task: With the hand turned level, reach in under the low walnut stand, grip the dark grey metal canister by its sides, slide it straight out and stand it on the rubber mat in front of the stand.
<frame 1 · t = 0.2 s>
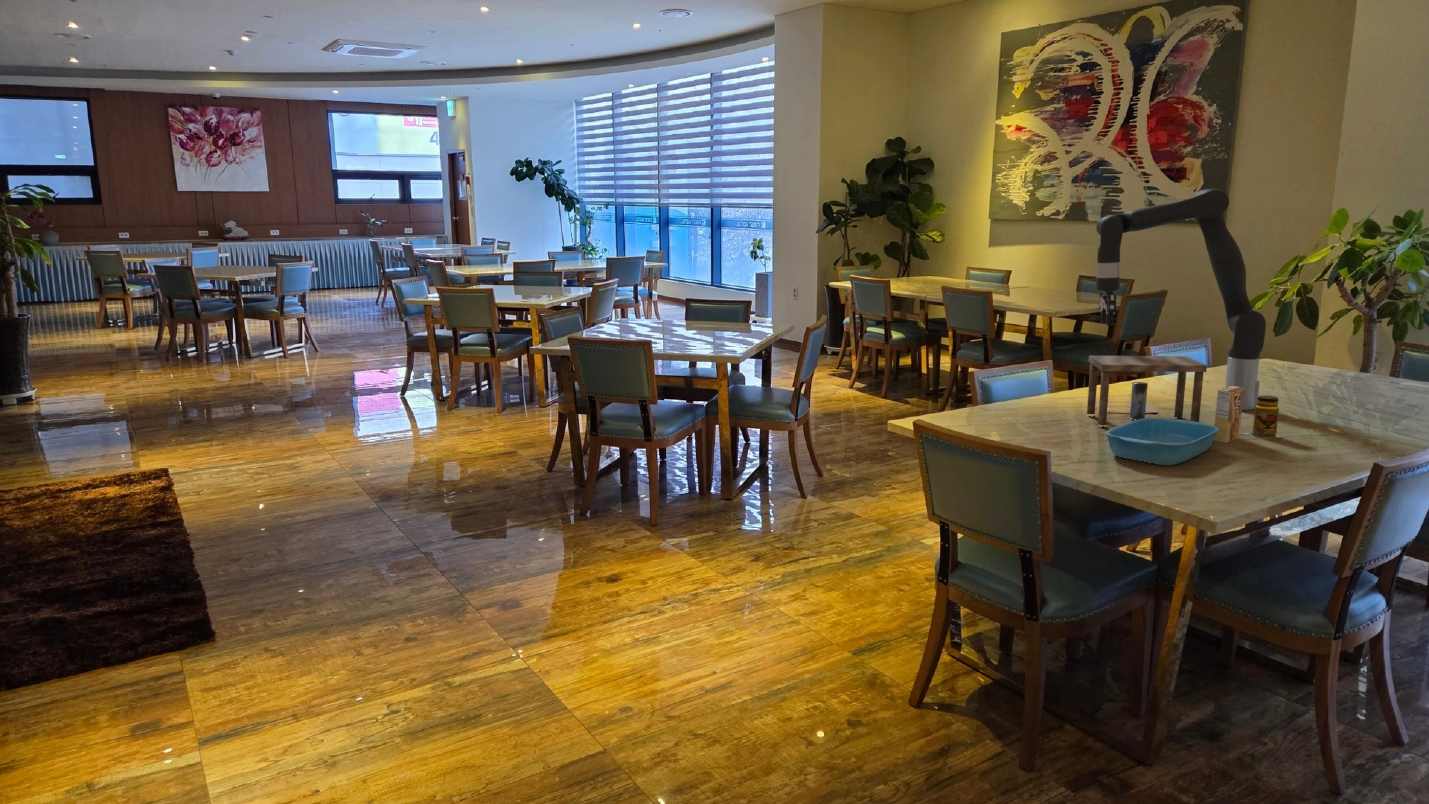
hand: (1107, 324, 311), 28 cm above the table, tool pointing down, fingers open, 8 cm apart
metal canister: (1137, 419, 296), on the table
low stand: (1140, 422, 292), on the table
candy box: (1226, 440, 269), on the table
rubber mat: (1123, 408, 313), on the table
casserole dish: (1160, 454, 257), on the table
condiment: (1261, 436, 273), on the table
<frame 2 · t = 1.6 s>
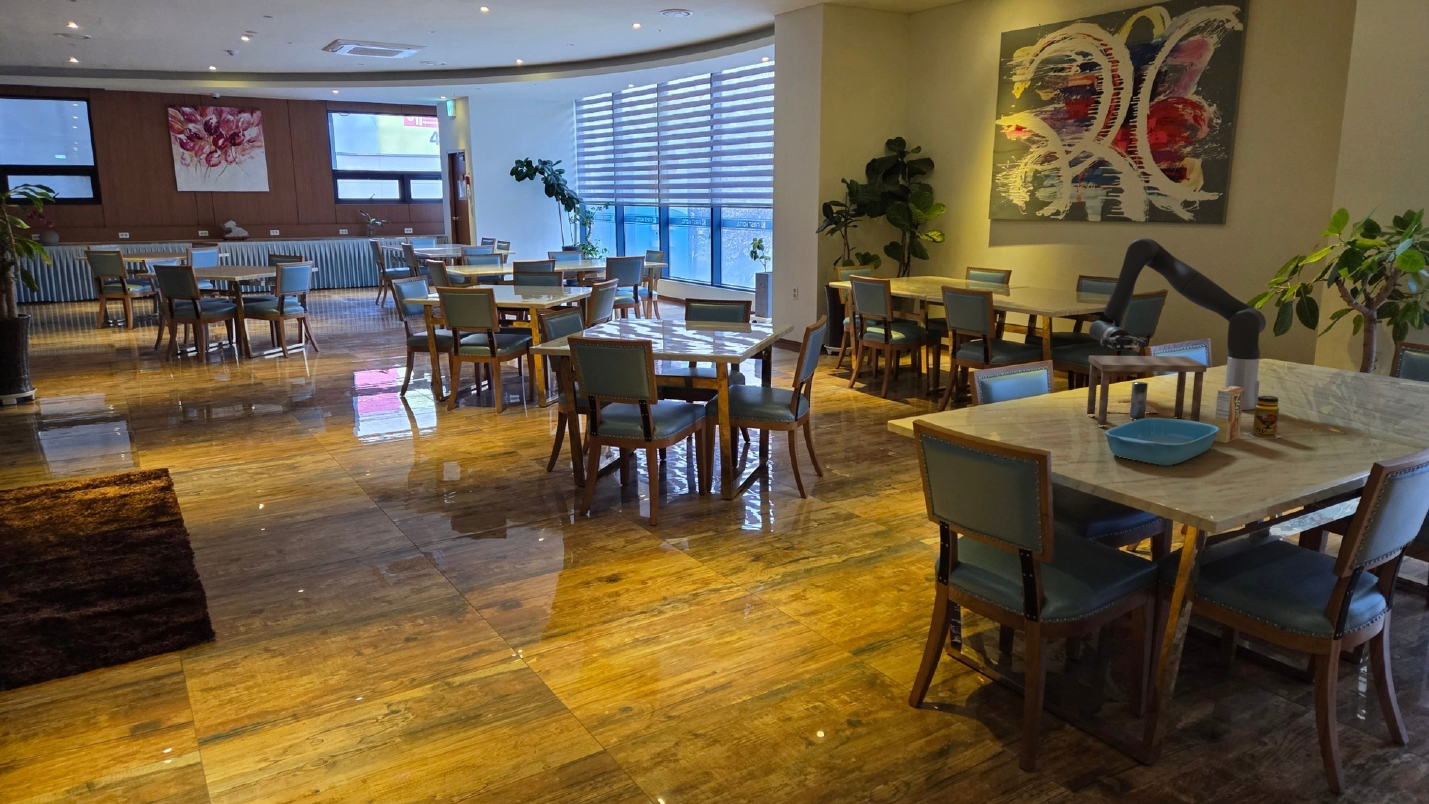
hand: (1129, 345, 306), 22 cm above the table, tool horizontal, fingers open, 8 cm apart
nothing on the table moved.
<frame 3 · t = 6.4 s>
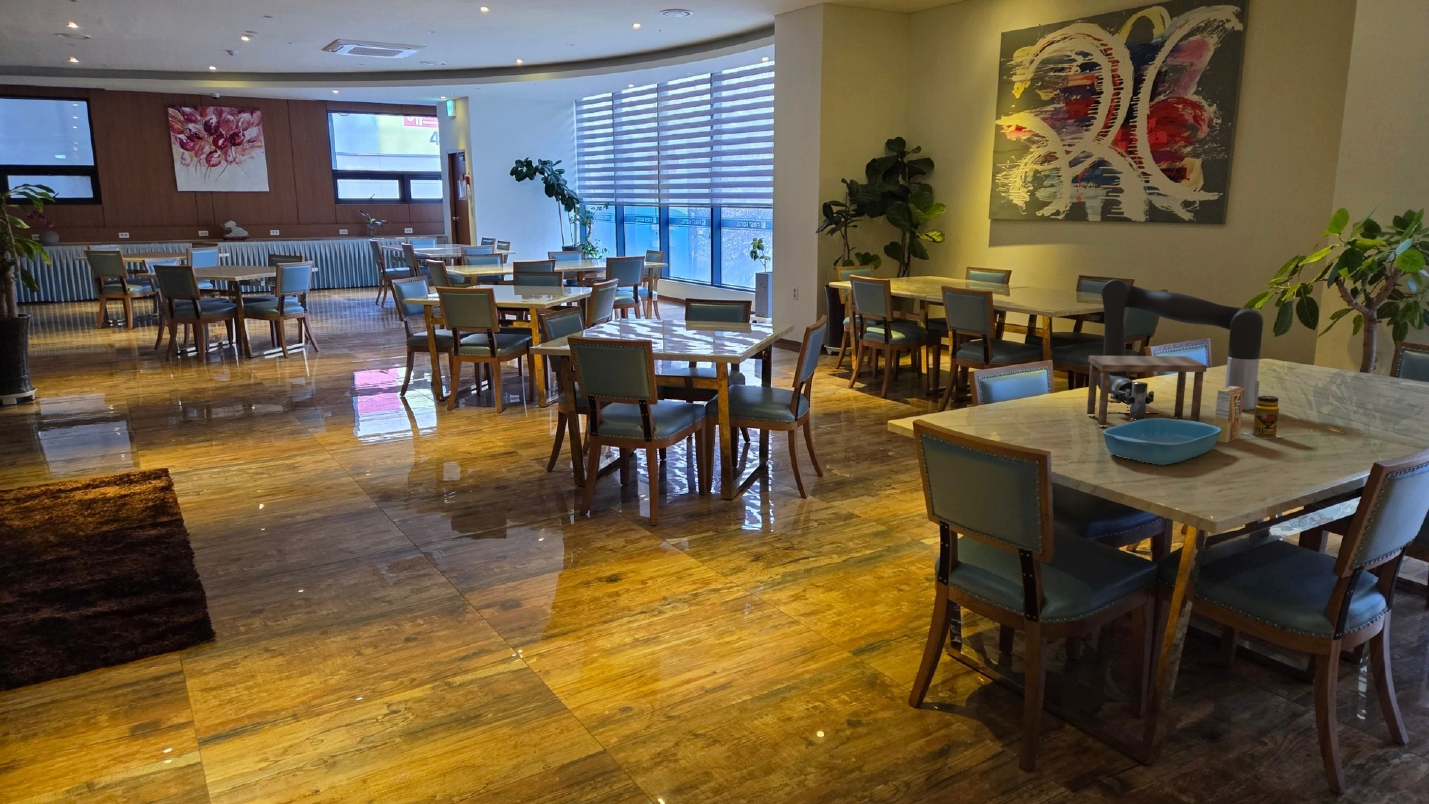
hand: (1140, 400, 293), 7 cm above the table, tool horizontal, fingers closed on metal canister, 4 cm apart
metal canister: (1137, 419, 296), on the table, touching gripper
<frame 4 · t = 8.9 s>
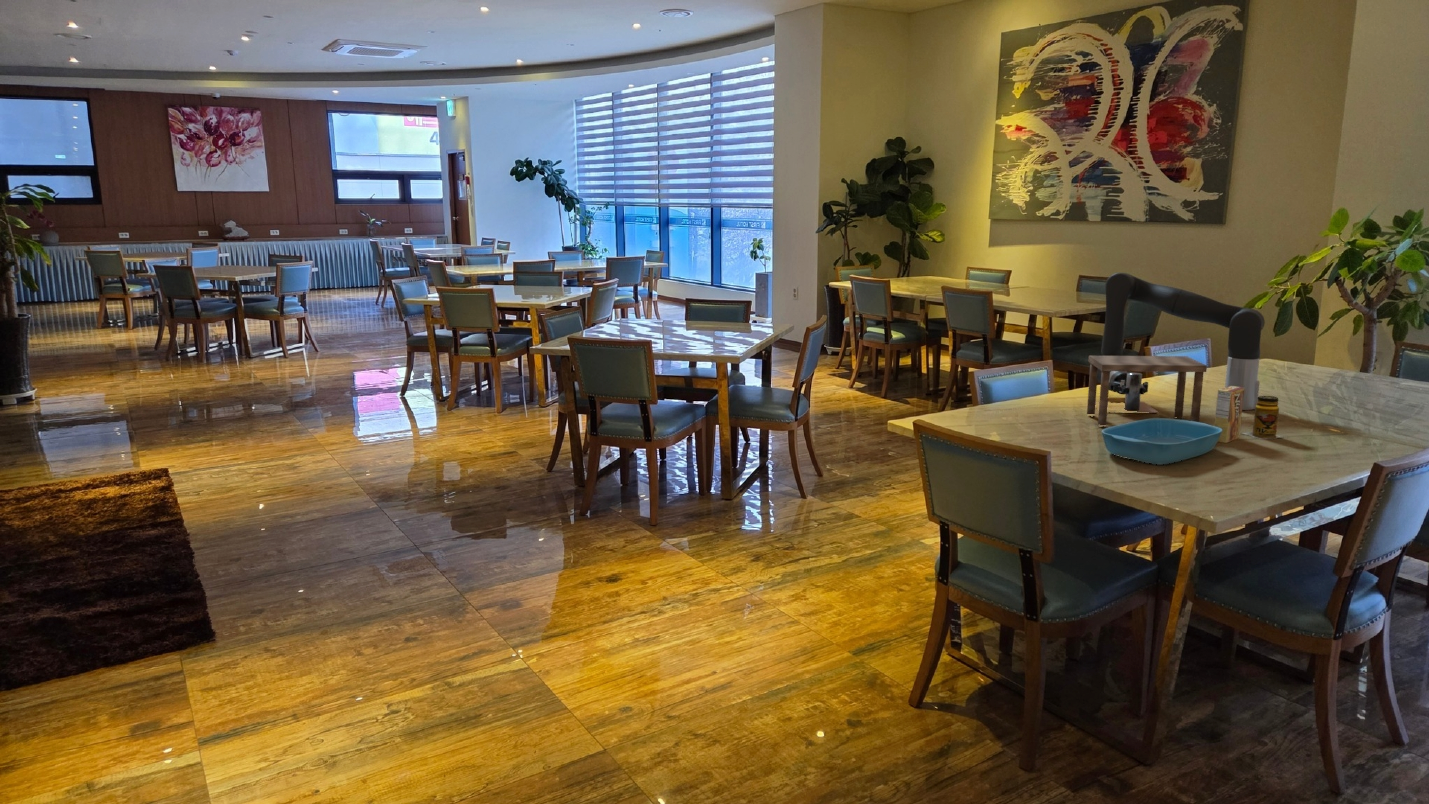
hand: (1134, 391, 300), 8 cm above the table, tool horizontal, fingers closed on metal canister, 4 cm apart
metal canister: (1131, 409, 303), point 2 cm above the table, touching gripper
when the fingers open (7 cm above the table, at t = 11.5 s): metal canister stays where it is, resting on rubber mat.
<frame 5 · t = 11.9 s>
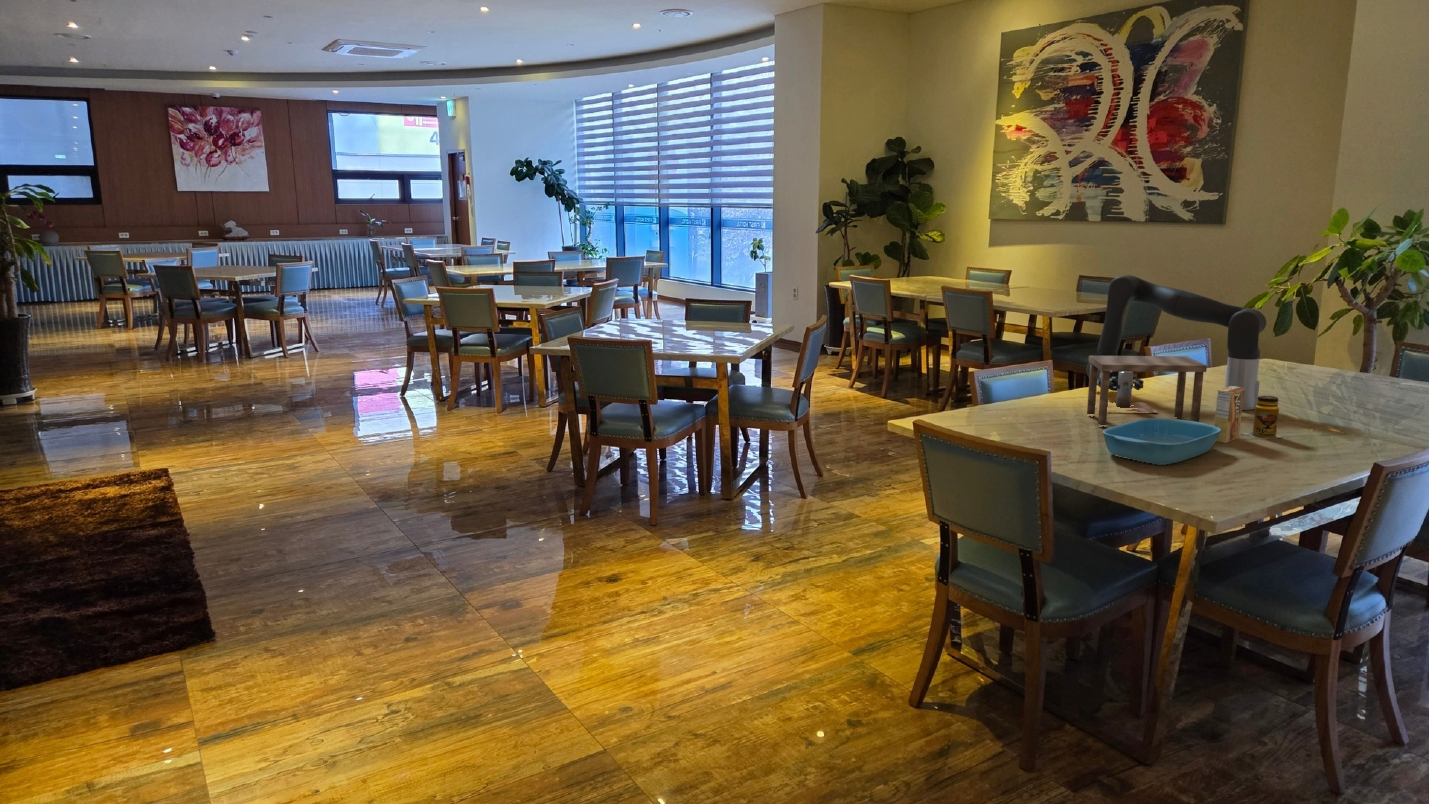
hand: (1125, 387, 310), 8 cm above the table, tool horizontal, fingers open, 8 cm apart
metal canister: (1123, 406, 313), point 1 cm above the table, touching rubber mat
everything else where it was.
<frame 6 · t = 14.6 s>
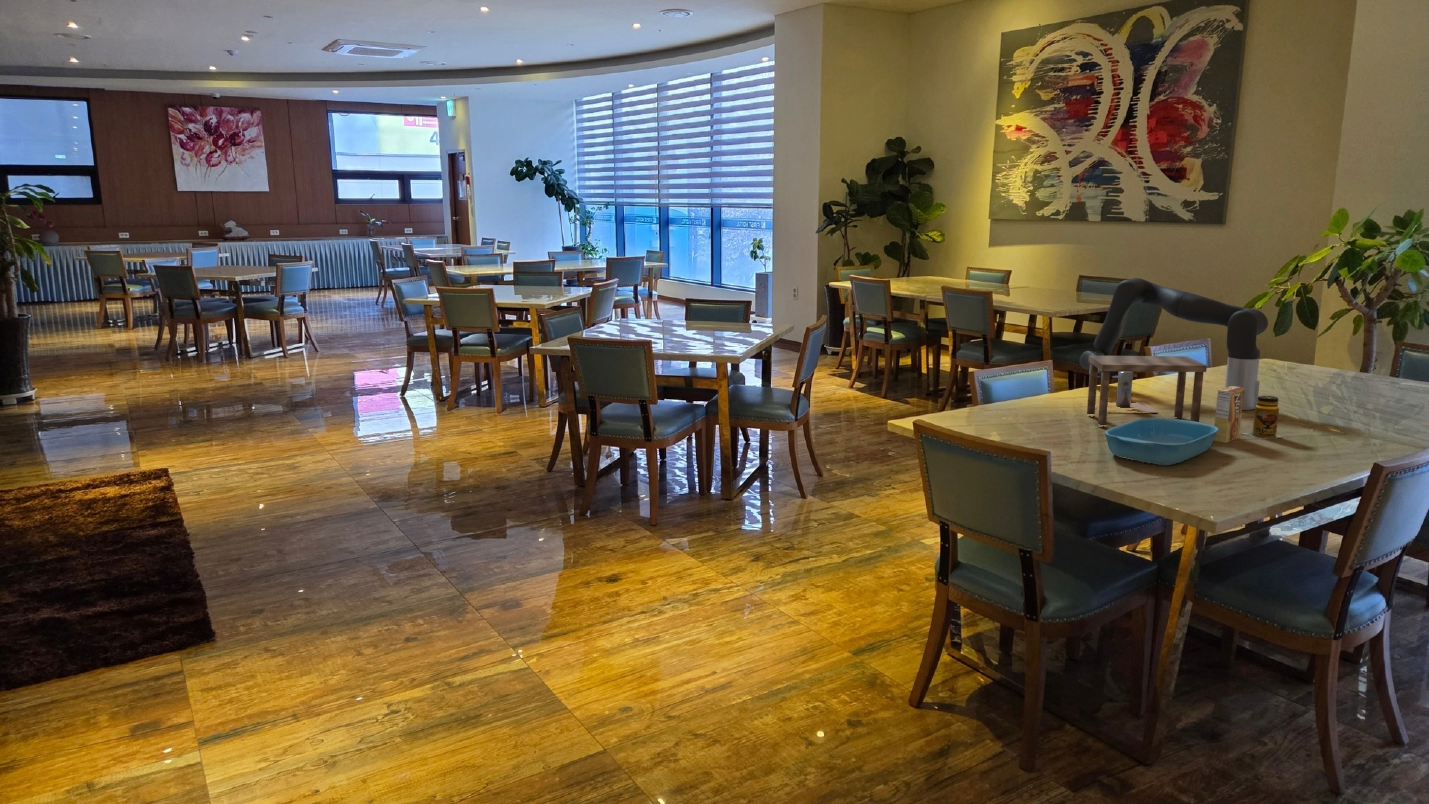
hand: (1116, 375, 322), 9 cm above the table, tool horizontal, fingers open, 8 cm apart
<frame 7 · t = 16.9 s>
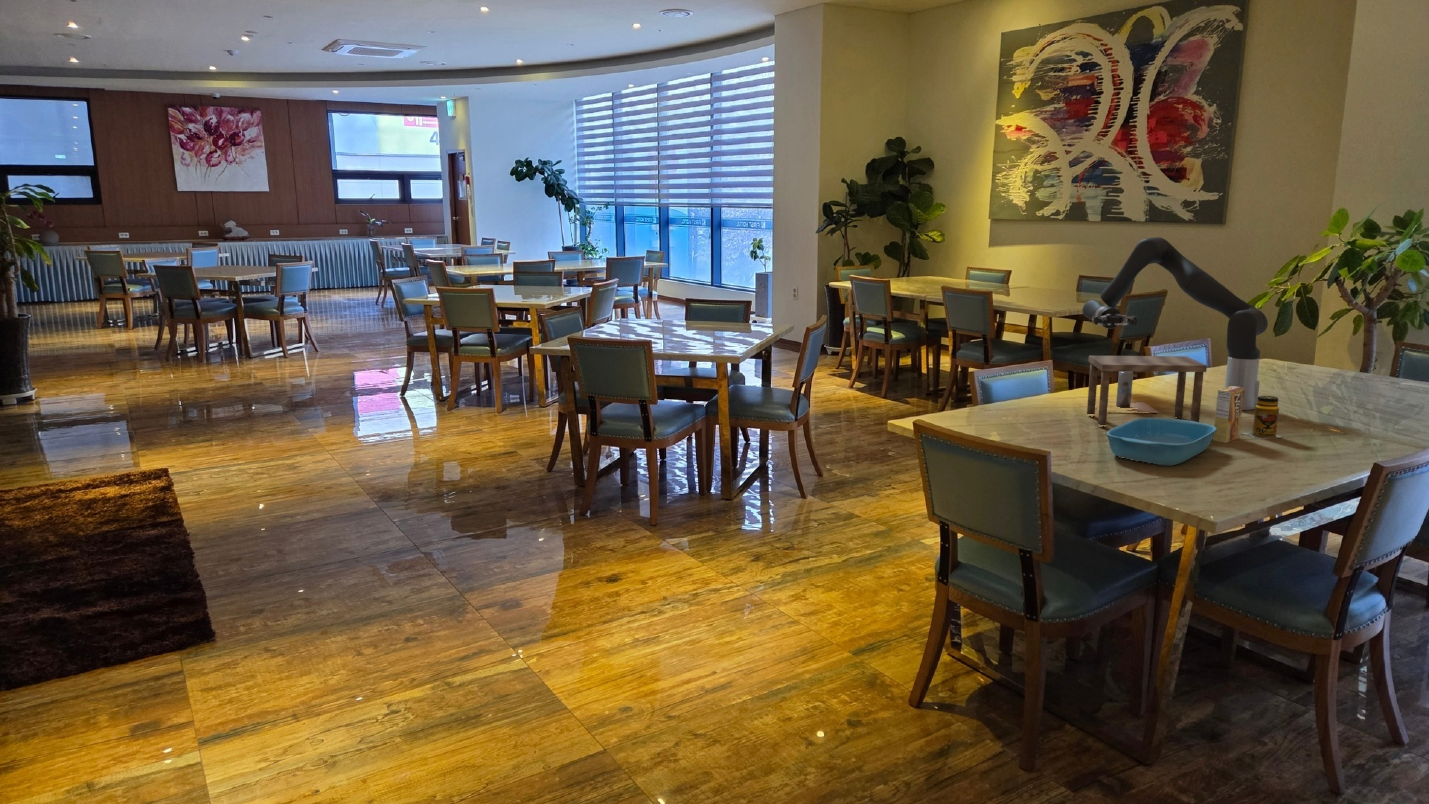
hand: (1119, 322, 319), 28 cm above the table, tool horizontal, fingers open, 8 cm apart
at the end: metal canister inside the target area (0.0 cm from its centre), point 0.6 cm above the table; metal canister tilted 0°; the gripper is holding nothing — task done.
